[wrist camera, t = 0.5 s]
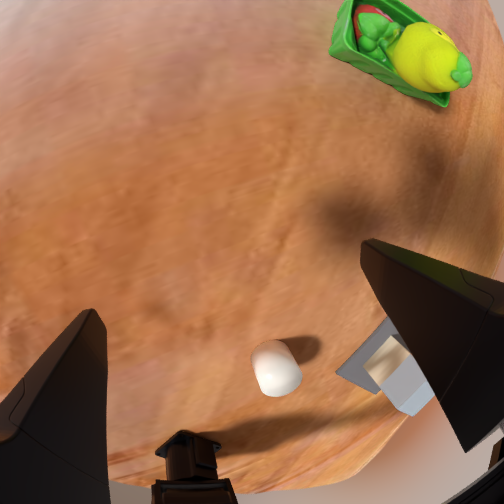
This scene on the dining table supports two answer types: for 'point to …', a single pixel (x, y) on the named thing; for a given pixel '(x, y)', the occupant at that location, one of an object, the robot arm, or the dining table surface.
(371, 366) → the bottom block
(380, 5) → the fruit basket
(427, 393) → the top block
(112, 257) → the dining table surface
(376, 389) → the mat
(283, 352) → the white cylinder
